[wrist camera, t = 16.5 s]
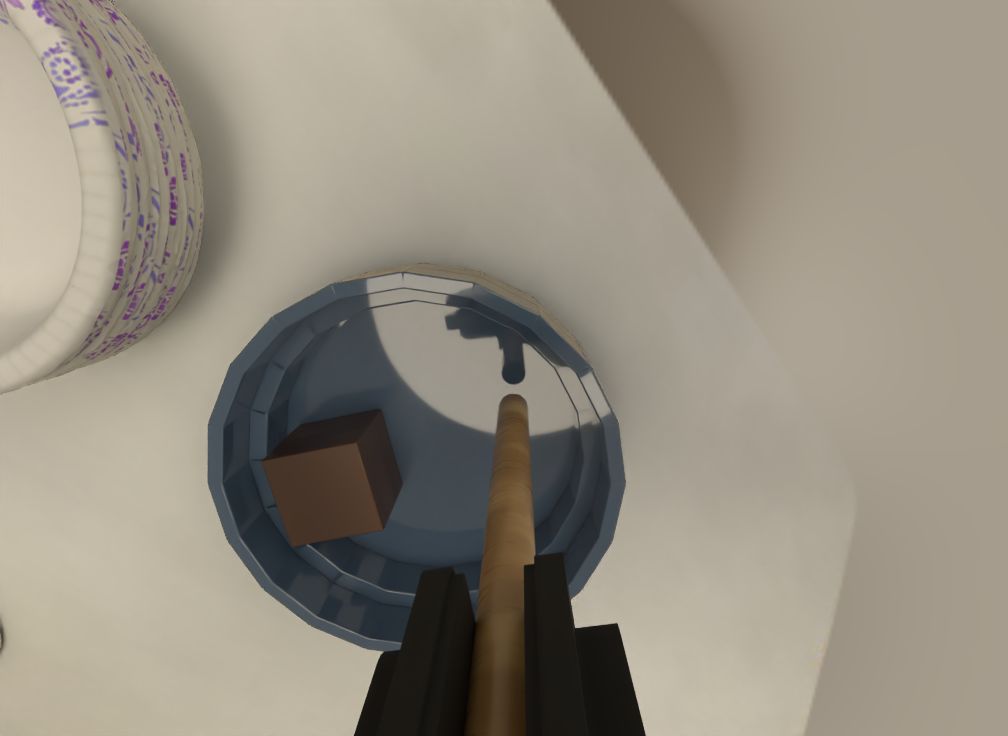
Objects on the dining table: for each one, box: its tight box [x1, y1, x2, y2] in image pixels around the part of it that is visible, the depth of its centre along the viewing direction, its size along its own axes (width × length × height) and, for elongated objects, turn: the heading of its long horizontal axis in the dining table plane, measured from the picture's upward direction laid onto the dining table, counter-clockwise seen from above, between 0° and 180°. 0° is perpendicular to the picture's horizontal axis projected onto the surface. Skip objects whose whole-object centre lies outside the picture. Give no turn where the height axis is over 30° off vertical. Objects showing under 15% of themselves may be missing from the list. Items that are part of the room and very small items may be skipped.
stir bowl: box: [208, 263, 626, 652], centre depth 23 cm, size 16×16×5 cm
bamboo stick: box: [464, 394, 536, 736], centre depth 13 cm, size 1×1×18 cm
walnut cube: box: [261, 409, 403, 547], centre depth 23 cm, size 4×4×4 cm
